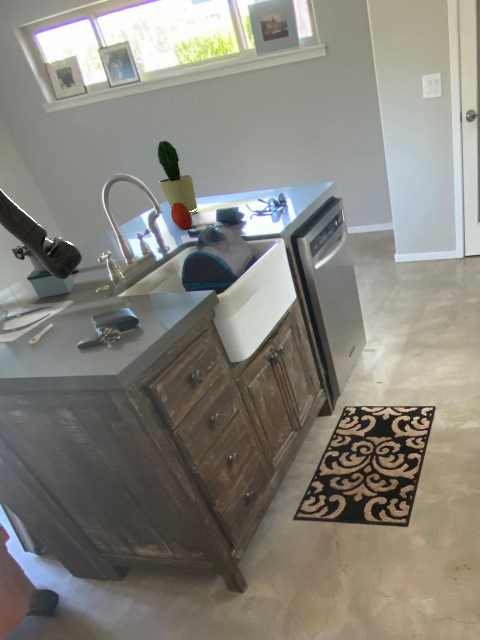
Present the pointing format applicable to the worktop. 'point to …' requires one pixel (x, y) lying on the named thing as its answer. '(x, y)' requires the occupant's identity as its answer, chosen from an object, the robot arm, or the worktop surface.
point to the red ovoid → (181, 216)
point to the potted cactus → (175, 178)
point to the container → (50, 284)
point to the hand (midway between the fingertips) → (32, 245)
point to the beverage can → (37, 264)
